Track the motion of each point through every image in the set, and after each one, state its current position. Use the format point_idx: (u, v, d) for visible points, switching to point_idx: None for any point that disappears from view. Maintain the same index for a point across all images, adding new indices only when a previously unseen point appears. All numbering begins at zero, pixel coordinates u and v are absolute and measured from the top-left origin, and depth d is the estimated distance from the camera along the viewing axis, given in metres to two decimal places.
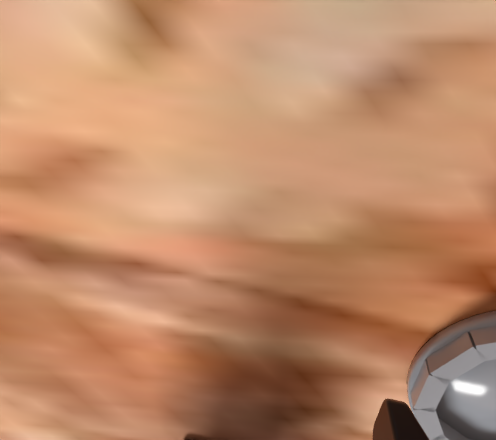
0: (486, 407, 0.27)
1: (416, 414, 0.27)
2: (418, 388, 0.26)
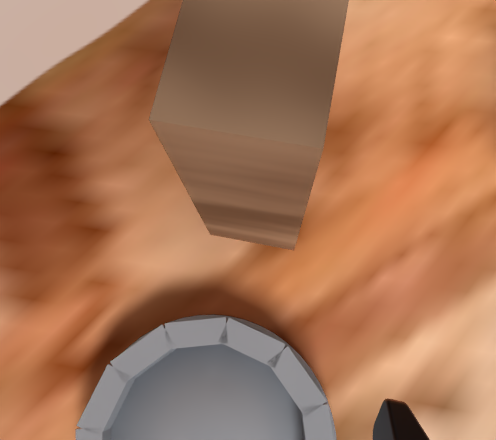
0: None
1: None
2: None
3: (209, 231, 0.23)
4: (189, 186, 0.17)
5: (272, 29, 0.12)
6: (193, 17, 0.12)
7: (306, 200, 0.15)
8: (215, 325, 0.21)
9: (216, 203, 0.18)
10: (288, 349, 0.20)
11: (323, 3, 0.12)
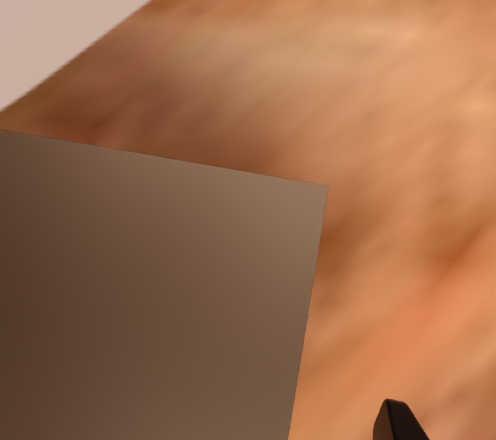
0: None
1: None
2: None
3: None
4: None
5: (154, 260, 0.05)
6: None
7: None
8: None
9: None
10: None
11: (272, 197, 0.06)
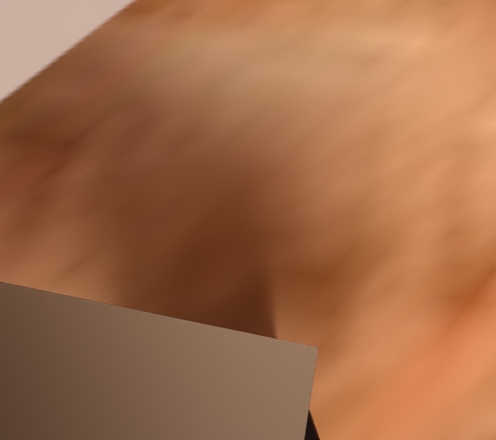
0: None
1: None
2: None
3: None
4: None
5: None
6: None
7: None
8: None
9: None
10: None
11: (225, 366, 0.03)
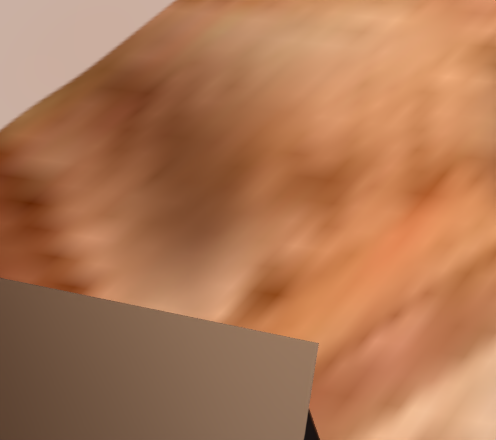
0: None
1: None
2: None
3: None
4: None
5: None
6: None
7: None
8: None
9: None
10: None
11: (226, 362, 0.03)
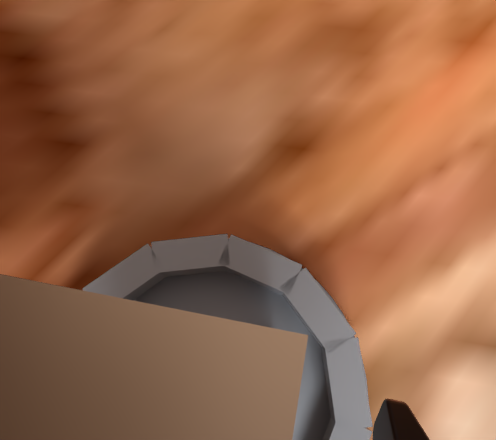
0: None
1: None
2: None
3: None
4: None
5: (82, 439, 0.04)
6: None
7: None
8: (214, 243, 0.17)
9: None
10: (306, 271, 0.16)
11: (236, 350, 0.04)
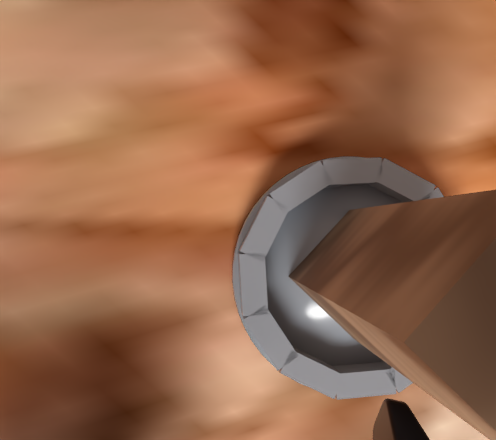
0: None
1: (250, 325, 0.21)
2: (240, 289, 0.21)
3: (291, 278, 0.21)
4: (337, 306, 0.14)
5: None
6: None
7: (445, 406, 0.14)
8: (423, 186, 0.22)
9: (341, 315, 0.16)
10: None
11: None
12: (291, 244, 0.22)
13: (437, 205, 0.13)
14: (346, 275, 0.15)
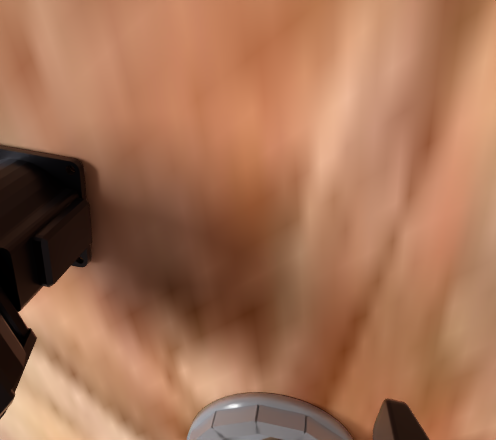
0: None
1: (248, 422, 0.27)
2: (277, 418, 0.27)
3: None
4: None
5: None
6: None
7: None
8: None
9: None
10: None
11: None
12: None
13: None
14: None
